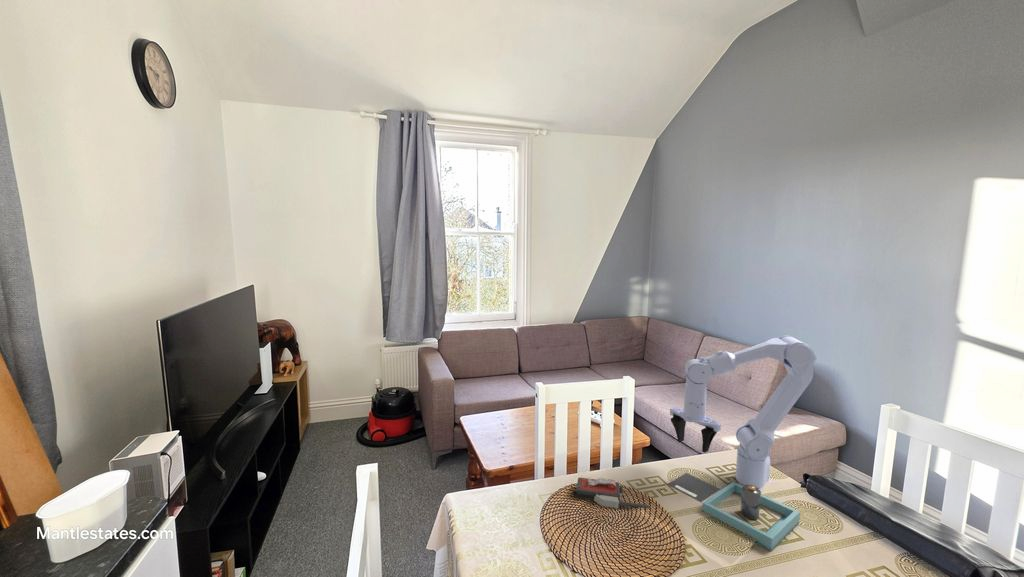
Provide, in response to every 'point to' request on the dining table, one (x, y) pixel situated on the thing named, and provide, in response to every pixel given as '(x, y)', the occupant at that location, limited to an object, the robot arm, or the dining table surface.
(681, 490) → the grey square pad
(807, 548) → the dining table surface
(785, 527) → the rectangular frame
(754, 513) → the battery cell
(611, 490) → the walkie-talkie
